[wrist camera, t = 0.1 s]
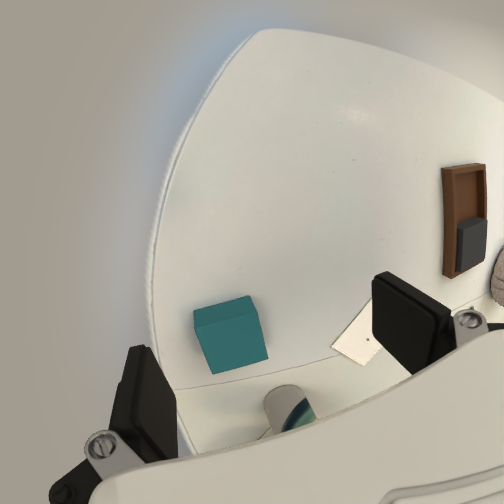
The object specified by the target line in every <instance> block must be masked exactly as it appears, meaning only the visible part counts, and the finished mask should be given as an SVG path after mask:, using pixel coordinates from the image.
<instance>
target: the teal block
mask: <svg viewBox="0 0 504 504" xmlns="http://www.w3.org/2000/svg"><path fill="white" fill-rule="evenodd" d="M194 329H195V332H196V334H197V337H198V339H199V342H200V345H201V347H202V350H203V352H204V355H205V357H206V360H207V362H208V365H209V367H210V370H211V372H212V374H217V373H221V372H224V371H228V370H232V369H236V368H239V367H243V366H246V365H250V364H253V363H257V362H260V361H263V360H266V359H268V355H267V351H266V346H265V342H264V338H263V334H262V330H261V326H260V322H259V318H258V313H257V310H256V308H255V306H254V304H253V302H252V300H251V298H250V296H245V297H242V298H238V299H235V300H231V301H228V302H224V303H220V304H217V305H213V306H209V307H206V308H202V309H198V310H194Z"/></svg>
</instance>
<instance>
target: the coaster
mask: <svg viewBox="0 0 504 504" xmlns="http://www.w3.org/2000/svg"><path fill="white" fill-rule="evenodd" d="M381 346H382V345H381V344H380V343H379V342H378V341H377V340H376V339H375V338H374V336H373V334H372V299H371V300H370V301H369V303H368V304H367V305H366V306H365V308H364V309H363V310H362V311H361V312H360V314H359V315H358V316H357V317H356V318H355V320H354V321H353V322H352V323H351V324H350V326H349V327H348V328H347V329H346V330H345V331H344V333H343V334H342V335H341V336H340V337H339V338H338V339H337V340H336V342H335V343H334V344H333V345H332V346H331V347H333V348H334V349H336V350H338V351H339V352H341V353H343V354H344V355H346V356H348V357H349V358H351V359H352V360H354V361H356V362H358V363H359V364H361V365H363V366H365V364H366V363H367V362H368V361H369V360H370V359H371V358H372V357H373V356H374V354H375V353H376V352H377V351H378V350H379V349H380V348H381Z"/></svg>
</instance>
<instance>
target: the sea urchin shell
mask: <svg viewBox="0 0 504 504" xmlns="http://www.w3.org/2000/svg"><path fill="white" fill-rule="evenodd" d="M491 283H492V284H491V291H492V295H493V298H494V299H495V302H498V304H500V306H503V307H504V248H503V250H502V252H501V253H500V255H499V257H498V261H497V262H496V264H495V267H494V273H493V274H492V279H491Z"/></svg>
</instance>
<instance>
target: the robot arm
mask: <svg viewBox="0 0 504 504" xmlns="http://www.w3.org/2000/svg"><path fill="white" fill-rule="evenodd" d="M372 334H373V336H374V338H375V339H376V340H377V341H378V342H379V343H380V344H381V345H382V346H383V347H384V348H385V349H386V350H387V351H388V352H389V353H390V354H391V355H392V356H393V357H394V358H395V359H396V360H397V361H398V362H399V363H400V364H401V365H402V366H403V367H404V368H405V369H406V370H407V371H409V372H410V373H411V374H412V376H410V377H408V378H407V379H405V380H403V381H401V382H399V383H398V384H396V385H394V386H392V387H390V388H388V389H386V390H384V391H382V392H380V393H378V394H376V395H374V396H372V397H370V398H368V399H366V400H364V401H362V402H360V403H358V404H355V405H353V406H351V407H349V408H346V409H344V410H342V411H339V412H337V413H335V414H332V415H330V416H327V417H325V418H322V419H320V420H317V421H314V422H312V423H309V424H306V425H304V426H301V427H298V428H295V429H292V430H289V431H286V432H283V433H280V434H277V435H274V436H270V437H267V438H264V439H260V440H257V441H253V442H249V443H245V444H242V445H238V446H233V447H229V448H225V449H220V450H216V451H211V452H207V453H202V454H197V455H191V456H186V457H180V458H178V443H177V408H176V397H175V394H174V392H173V391H172V389H171V387H170V385H169V383H168V381H167V380H166V378H165V376H164V374H163V372H162V370H161V368H160V366H159V364H158V362H157V360H156V358H155V356H154V354H153V352H152V350H151V348H150V347H145V345H143V344H142V345H138V346H134V347H130V348H129V352H128V356H127V360H126V363H125V367H124V372H123V376H122V380H121V382H120V383H119V384H118V387H117V391H116V396H115V400H114V404H113V409H112V414H111V419H110V424H109V429H108V430H101V431H98V432H96V433H94V434H93V435H91V436H90V438H88V440H87V441H86V443H85V446H84V453H85V455H86V457H87V458H86V459H85V460H84V461H83V462H81V463H80V464H79V465H78V466H76V467H75V468H74V469H72V470H71V471H70V472H69V473H67V474H66V475H65V476H63V477H62V478H61V479H59V480H58V481H57V482H55V484H53V485H52V487H51V489H50V491H49V501H50V504H504V323H487V322H486V319H485V317H484V316H483V315H482V314H481V313H480V312H478V311H475V310H470V309H465V310H461V311H458V312H457V313H456V314H455V315H454V317H452V316H451V310H450V309H449V308H447V307H446V306H444V305H442V304H441V303H439V302H438V301H436V300H435V299H433V298H431V297H430V296H428V295H426V294H425V293H423V292H422V291H420V290H418V289H417V288H415V287H413V286H412V285H410V284H408V283H407V282H405V281H403V280H402V279H400V278H398V277H397V276H395V275H393V274H392V273H390V272H388V271H386V272H383V273H380V274H378V275H376V276H375V277H374V280H372Z"/></svg>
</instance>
